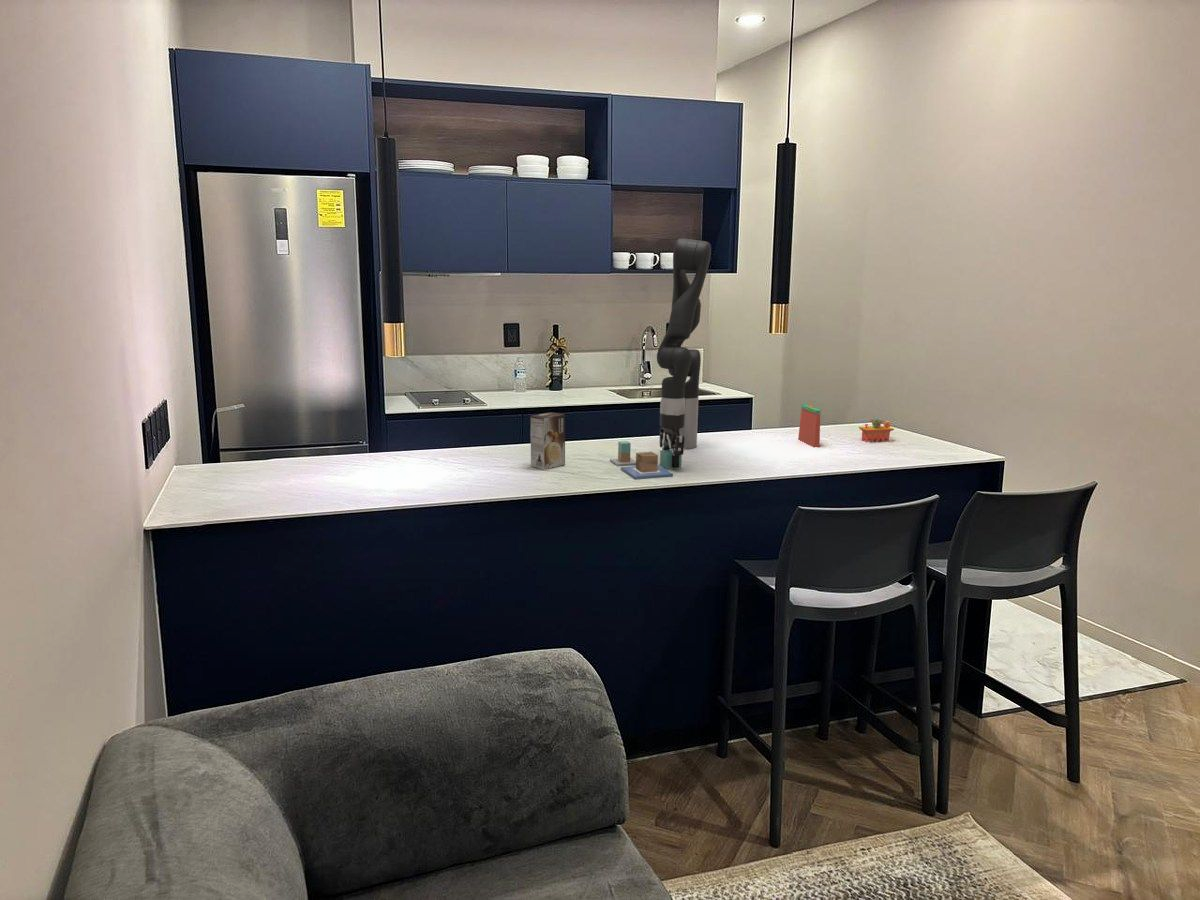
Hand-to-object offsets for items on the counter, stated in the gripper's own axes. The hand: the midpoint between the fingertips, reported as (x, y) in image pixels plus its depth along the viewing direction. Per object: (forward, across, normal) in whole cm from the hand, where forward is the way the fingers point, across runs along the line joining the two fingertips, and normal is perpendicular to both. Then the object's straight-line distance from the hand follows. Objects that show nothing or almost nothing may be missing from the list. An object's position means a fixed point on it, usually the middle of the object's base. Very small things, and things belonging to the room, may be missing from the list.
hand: (670, 464), depth 269 cm
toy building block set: (+1, -16, +77) cm, 79 cm away
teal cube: (+1, 0, 0) cm, 1 cm away
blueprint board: (+1, +5, -10) cm, 11 cm away
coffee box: (+1, -12, -36) cm, 38 cm away
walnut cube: (0, +5, -10) cm, 11 cm away
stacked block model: (+1, -9, -12) cm, 15 cm away
